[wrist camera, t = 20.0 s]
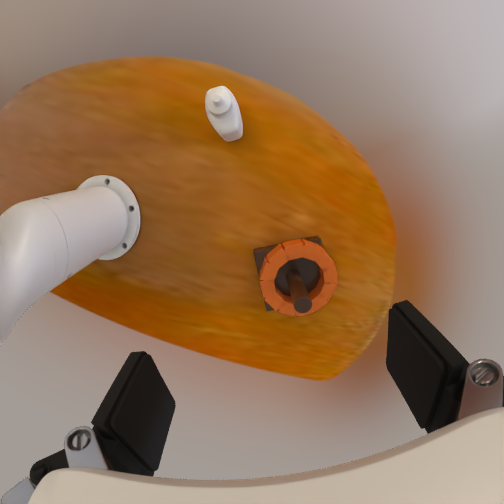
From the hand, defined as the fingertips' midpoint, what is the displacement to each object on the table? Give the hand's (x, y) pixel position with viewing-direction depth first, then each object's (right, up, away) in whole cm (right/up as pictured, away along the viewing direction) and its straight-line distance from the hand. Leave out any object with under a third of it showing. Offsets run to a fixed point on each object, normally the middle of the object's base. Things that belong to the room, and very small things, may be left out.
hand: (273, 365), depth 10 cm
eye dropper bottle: (-4, +21, +23) cm, 32 cm away
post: (+5, +1, +29) cm, 30 cm away
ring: (+5, +1, +28) cm, 28 cm away
